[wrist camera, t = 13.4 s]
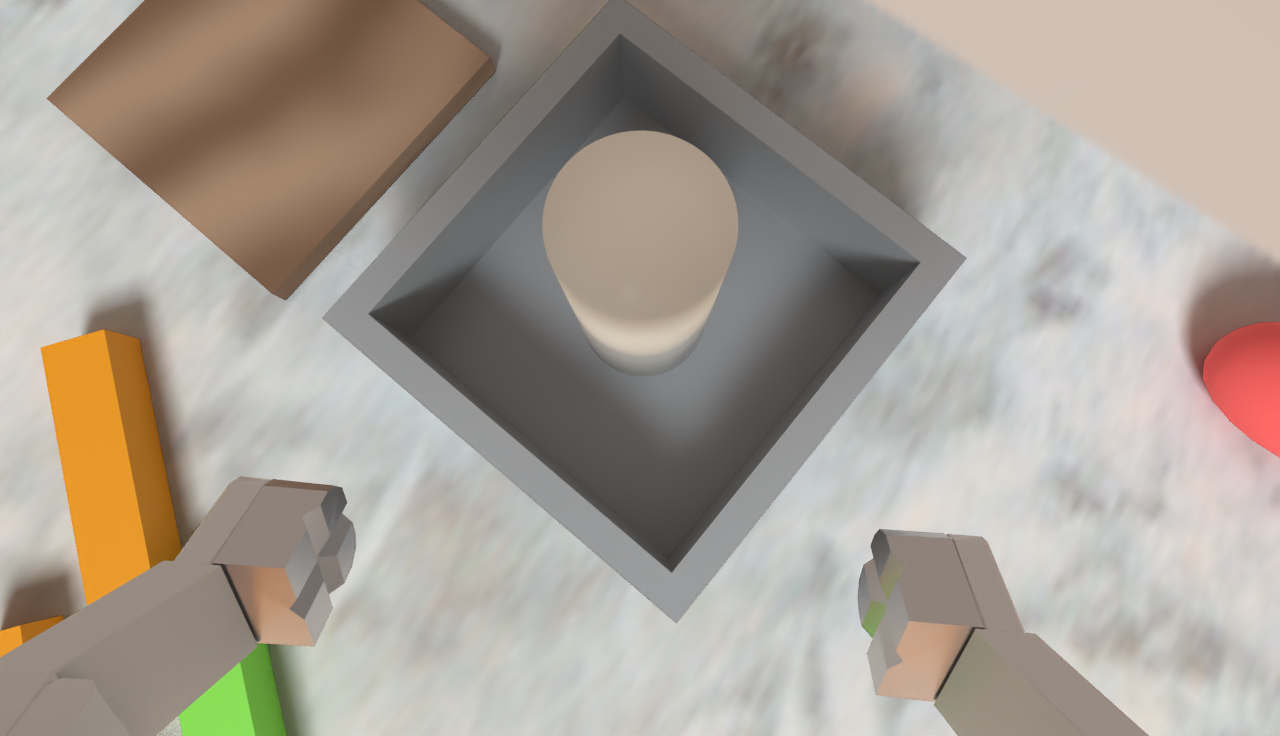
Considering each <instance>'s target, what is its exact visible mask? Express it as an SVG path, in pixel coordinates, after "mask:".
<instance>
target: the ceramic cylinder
mask: <svg viewBox="0 0 1280 736" xmlns="http://www.w3.org/2000/svg"><path fill="white" fill-rule="evenodd" d="M542 234H543V241H544V246H545V250H546V253H547V257H548V259H549V261H550V263H551V266H552V268H553V270H554V272H555V274H556V276H557V278H558V280H559V283H560V285H561V287H562V289H563V291H564V293H565V295H566V297H567V299H568V301H569V303H570V305H571V307H572V309H573V312H574V314H575V316H576V318H577V320H578V322H579V324H580V326H581V328H582V330H583V332H584V334H585V336H586V339H587V341H588V343H589V345H590V346H591V348H592V350H593V351H594V352H595V354H596V355H597V356H598V357H599V358H600V359H601V360H602V361H603V362H604V363H606V364H607V365H608V366H610V367H611V368H613V369H615V370H617V371H619V372H622V373H624V374H628V375H632V376H654V375H659V374H662V373H665V372H668V371H670V370H672V369H674V368H676V367H677V366H679V365H680V364H681V363H683V362H684V361H685V360H686V359H687V358H688V357H689V356H690V355H691V354H692V352H693V351H694V350H695V348H696V346H697V345H698V343H699V341H700V338H701V336H702V333H703V331H704V328H705V326H706V323H707V320H708V318H709V315H710V313H711V310H712V308H713V305H714V303H715V300H716V298H717V295H718V293H719V290H720V287H721V285H722V282H723V280H724V277H725V275H726V272H727V270H728V267H729V265H730V262H731V259H732V257H733V254H734V252H735V247H736V243H737V238H738V212H737V206H736V202H735V199H734V195H733V192H732V190H731V188H730V186H729V184H728V181H727V179H726V178H725V176H724V175H723V173H722V172H721V170H720V169H719V168H718V167H717V165H716V164H715V163H714V162H713V161H712V160H711V159H710V158H709V157H708V156H707V155H706V154H705V153H703V152H702V151H701V150H699V149H698V148H697V147H695V146H694V145H692V144H690V143H688V142H686V141H684V140H682V139H680V138H677V137H675V136H672V135H669V134H665V133H660V132H654V131H627V132H621V133H617V134H613V135H609V136H606V137H604V138H602V139H599V140H597V141H595V142H593V143H591V144H590V145H588V146H586V147H584V148H583V149H582V150H580V151H579V152H578V153H577V154H575V155H574V156H573V157H572V158H571V159H570V160H569V161H568V162H567V163H566V164H565V165H564V167H563V168H562V169H561V171H560V172H559V173H558V175H557V176H556V178H555V180H554V181H553V183H552V185H551V188H550V190H549V192H548V195H547V198H546V201H545V205H544V210H543V218H542Z"/></svg>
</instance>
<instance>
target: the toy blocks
mask: <svg viewBox="0 0 1280 736" xmlns="http://www.w3.org/2000/svg"><path fill="white" fill-rule="evenodd" d="M41 353H42V358H43V364H44V369H45V375H46V380H47V386H48V392H49V397H50V403H51V408H52V414H53V419H54V425H55V430H56V436H57V442H58V447H59V453H60V458H61V464H62V469H63V475H64V481H65V486H66V492H67V497H68V503H69V508H70V514H71V520H72V525H73V531H74V536H75V542H76V547H77V553H78V559H79V564H80V570H81V575H82V581H83V586H84V592H85V598H86V603H87V605H89V604H91V603H93V602H95V601H96V600H98V599H100V598H101V597H103V596H105V595H106V594H108V593H110V592H112V591H113V590H115V589H117V588H118V587H120V586H122V585H123V584H125V583H127V582H128V581H130V580H132V579H134V578H135V577H137V576H139V575H140V574H142V573H144V572H145V571H147V570H149V569H150V568H152V567H154V566H155V565H157V564H159V563H161V562H162V561H174V560H175V559H176V557H177V556H178V555H179V553H180V552H181V550H182V549H181V544H180V539H179V534H178V529H177V524H176V519H175V514H174V509H173V504H172V499H171V494H170V489H169V484H168V479H167V474H166V469H165V464H164V459H163V454H162V449H161V444H160V439H159V434H158V429H157V424H156V419H155V414H154V409H153V404H152V399H151V394H150V389H149V385H148V380H147V375H146V370H145V365H144V360H143V355H142V350H141V345H140V340H139V339H138V338H135V337H131V336H127V335H124V334H120V333H116V332H112V331H109V330H105V329H103V330H100V331H96V332H93V333H89V334H86V335H83V336H79V337H76V338H72V339H69V340H65V341H62V342H58V343H55V344H52V345H48V346H45V347H41ZM63 620H64V619H63V615H61V616H57V617H53V618H48V619H44V620H40V621H36V622H31V623H27V624H23V625H19V626H16V627H12V628H9V629H6V630H2V631H0V657H2V656H3V655H5V654H7V653H8V652H10V651H12V650H14V649H15V648H17V647H19V646H20V645H22V644H24V643H25V642H27V641H29V640H30V639H32V638H34V637H35V636H37V635H39V634H41V633H42V632H44V631H46V630H47V629H49V628H51V627H52V626H54V625H56V624H57V623H59V622H61V621H63ZM257 645H258V647H257V648H256V649H254V650H253V651H252V652H251V653H250V654H249V655H247V656H246V657H245V658H244V659H243V660H242V661H241V662H239V663H238V664H237V665H236V666H235V667H234V668H233V669H231V670H230V671H229V672H228V673H227V674H226V675H224V676H223V677H222V678H221V679H220V680H219V681H218V682H216V683H215V684H214V685H213V686H212V687H211V688H210V689H208V690H207V691H206V692H205V693H204V694H203V695H201V696H200V697H199V698H198V699H197V700H196V701H195V702H193V703H192V704H191V705H190V706H189V707H188V708H187V709H185V710H184V711H183V712H182V713H181V714H180V715H179V719H180V725H181V730H182V735H183V736H287V735H286V730H285V725H284V720H283V716H282V711H281V706H280V702H279V697H278V692H277V688H276V683H275V678H274V674H273V669H272V664H271V660H270V655H269V650H268V646H267V644H264V643H257Z"/></svg>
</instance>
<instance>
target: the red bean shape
mask: <svg viewBox="0 0 1280 736" xmlns="http://www.w3.org/2000/svg"><path fill="white" fill-rule="evenodd" d="M1203 381H1204V383H1205V385H1206V387H1207V390H1208V392H1209V394H1210V396H1211V398H1212V400H1213V401H1214V402H1215V404H1216V405H1217V406H1218V407H1219V408H1220V410H1221V411H1222V412H1223V413H1224V415H1225V416H1226V417H1227V418H1228V419H1229V421H1230V422H1232V423H1233V424H1234V425H1235V426H1236V427H1237V428H1239V429H1240V430H1241V431H1242V432H1243V433H1244V434H1246V435H1247V436H1248V437H1249V438H1250V439H1251V440H1253V441H1254V442H1256V443H1257V444H1259V445H1261V446H1262V447H1264V448H1265V449H1267V450H1269V451H1270V452H1272V453H1273V454H1275V455H1277V456H1278V457H1280V322H1260V323H1256V324H1252V325H1248V326H1245V327H1241V328H1238V329H1236V330H1234V331H1232V332H1231V333H1229V334H1228V335H1226V336H1224V337H1223V338H1221V339H1220V340H1219V341H1218V342H1217V343H1216V344H1215V345H1214V346H1213V348H1212V349H1211V351H1210V352H1209V354H1208V356H1207V357H1206V359H1205V362H1204V370H1203Z"/></svg>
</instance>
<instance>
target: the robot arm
mask: <svg viewBox="0 0 1280 736" xmlns="http://www.w3.org/2000/svg"><path fill="white" fill-rule="evenodd" d="M346 504H347V501H346V498H345V495H344V492H343V489H342V488H341V487H338V486H332V485H322V484H313V483H304V482H294V481H285V480H276V479H262V478H252V477H242V476H240V477H239V478H237V479H236V480H234V481H232V482H231V483H230V484H229V485H228V486H227V488H226V489H225V491H224V492H223V493H222V495H221V496H220V498H219V499H218V500H217V502H216V503H215V505H214V506H213V507H212V509H211V510H210V511H209V513H208V514H207V516H206V517H205V518H204V520H203V521H202V523H201V524H200V525H199V527H198V528H197V530H196V531H195V532H194V534H193V535H192V536H191V538H190V539H189V541H188V542H187V543H186V545H185V546H184V548H183V549H182V550H181V552H180V553H179V555H178V556H177V557H176V559H175V560H174V561H162V562H161V563H159V564H157V565H155V566H154V567H152V568H150V569H149V570H147V571H145V572H144V573H142V574H140V575H139V576H137V577H135V578H134V579H132V580H130V581H128V582H127V583H125V584H123V585H122V586H120V587H118V588H117V589H115V590H113V591H112V592H110V593H108V594H106V595H105V596H103V597H101V598H100V599H98V600H96V601H95V602H93V603H91V604H90V605H88V606H86V607H84V608H83V609H81V610H79V611H78V612H76V613H74V614H73V615H71V616H69V617H68V618H66V619H64V620H63V621H61V622H59V623H57V624H56V625H54V626H52V627H51V628H49V629H47V630H46V631H44V632H42V633H41V634H39V635H37V636H35V637H34V638H32V639H30V640H29V641H27V642H25V643H24V644H22V645H20V646H19V647H17V648H15V649H14V650H12V651H10V652H8V653H7V654H5V655H3V656H2V657H0V736H155V735H157V734H158V733H159V732H160V731H161V730H162V729H164V728H165V727H166V726H167V725H168V724H169V723H170V722H172V721H173V720H174V719H175V718H176V717H177V716H178V715H180V714H181V713H182V712H183V711H184V710H185V709H187V708H188V707H189V706H190V705H191V704H192V703H193V702H195V701H196V700H197V699H198V698H199V697H200V696H201V695H203V694H204V693H205V692H206V691H207V690H208V689H210V688H211V687H212V686H213V685H214V684H215V683H216V682H218V681H219V680H220V679H221V678H222V677H223V676H224V675H226V674H227V673H228V672H229V671H230V670H231V669H233V668H234V667H235V666H236V665H237V664H238V663H239V662H241V661H242V660H243V659H244V658H245V657H246V656H247V655H249V654H250V653H251V652H252V651H253V650H254V649H256V648H257V647H258V645H257V643H264V644H281V645H298V646H315V644H316V642H317V640H318V638H319V636H320V634H321V632H322V630H323V627H324V625H325V623H326V621H327V619H328V617H329V615H330V613H331V611H332V609H333V607H332V603H331V600H330V597H329V594H330V593H331V592H332V591H334V590H335V589H337V588H338V587H339V586H341V585H342V584H343V583H345V581H346V578H347V576H348V574H349V572H350V569H351V567H352V563H353V558H354V554H355V549H356V535H355V530H354V526H353V523H352V522H351V521H350V520H349V519H348V518H347V517H346V516H344V515H343V514H342V512H343V510H344V508H345V506H346ZM871 549H872V553H873V559H872V560H870V561H869V562H867V563H866V564H864V565H863V569H862V572H861V575H860V578H859V588H858V607H859V615H860V620H861V625H862V627H863V628H864V629H865V630H866V631H867V632H868V634H869V635H870V636H871V637H872V638H873V640H872V642H871V645H870V647H869V650H868V652H867V655H868V659H869V664H870V669H871V674H872V678H873V683H874V688H875V692H876V695H880V696H889V697H898V698H906V699H915V700H924V701H933V702H935V703H934V705H935V707H936V708H937V709H938V711H939V712H940V713H941V714H942V716H943V717H944V718H945V720H946V721H947V722H948V724H949V725H950V726H951V727H952V729H953V730H954V731H955V733H956V734H957V735H958V736H1149V735H1147V734H1146V733H1145V732H1144V731H1143V730H1142V729H1141V728H1140V727H1139V726H1137V725H1136V724H1135V723H1134V722H1133V721H1132V720H1131V719H1130V718H1129V717H1127V716H1126V715H1125V714H1124V713H1123V712H1122V711H1121V710H1120V709H1119V708H1117V707H1116V706H1115V705H1114V704H1113V703H1112V702H1111V701H1110V700H1109V699H1107V698H1106V697H1105V696H1104V695H1103V694H1102V693H1101V692H1100V691H1099V690H1097V689H1096V688H1095V687H1094V686H1093V685H1092V684H1091V683H1090V682H1089V681H1087V680H1086V679H1085V678H1084V677H1083V676H1082V675H1081V674H1080V673H1079V672H1077V671H1076V670H1075V669H1074V668H1073V667H1072V666H1071V665H1070V664H1069V663H1067V662H1066V661H1065V660H1064V659H1063V658H1062V657H1061V656H1060V655H1059V654H1057V653H1056V652H1055V651H1054V650H1053V649H1052V648H1051V647H1050V646H1049V645H1047V644H1046V643H1045V642H1044V641H1043V640H1042V639H1041V638H1040V637H1039V636H1037V635H1036V634H1032V633H1025V631H1024V629H1023V626H1022V624H1021V621H1020V619H1019V617H1018V614H1017V612H1016V609H1015V607H1014V605H1013V602H1012V600H1011V597H1010V595H1009V592H1008V590H1007V588H1006V585H1005V583H1004V580H1003V578H1002V576H1001V573H1000V571H999V568H998V566H997V563H996V561H995V559H994V556H993V554H992V551H991V549H990V547H989V544H988V542H987V541H986V540H985V539H984V538H983V537H978V536H965V535H952V534H947V535H945V534H944V533H929V532H915V531H900V530H886V529H879V530H878V532H877V533H876V534H875V535H874V538H873V541H872V543H871Z"/></svg>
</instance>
